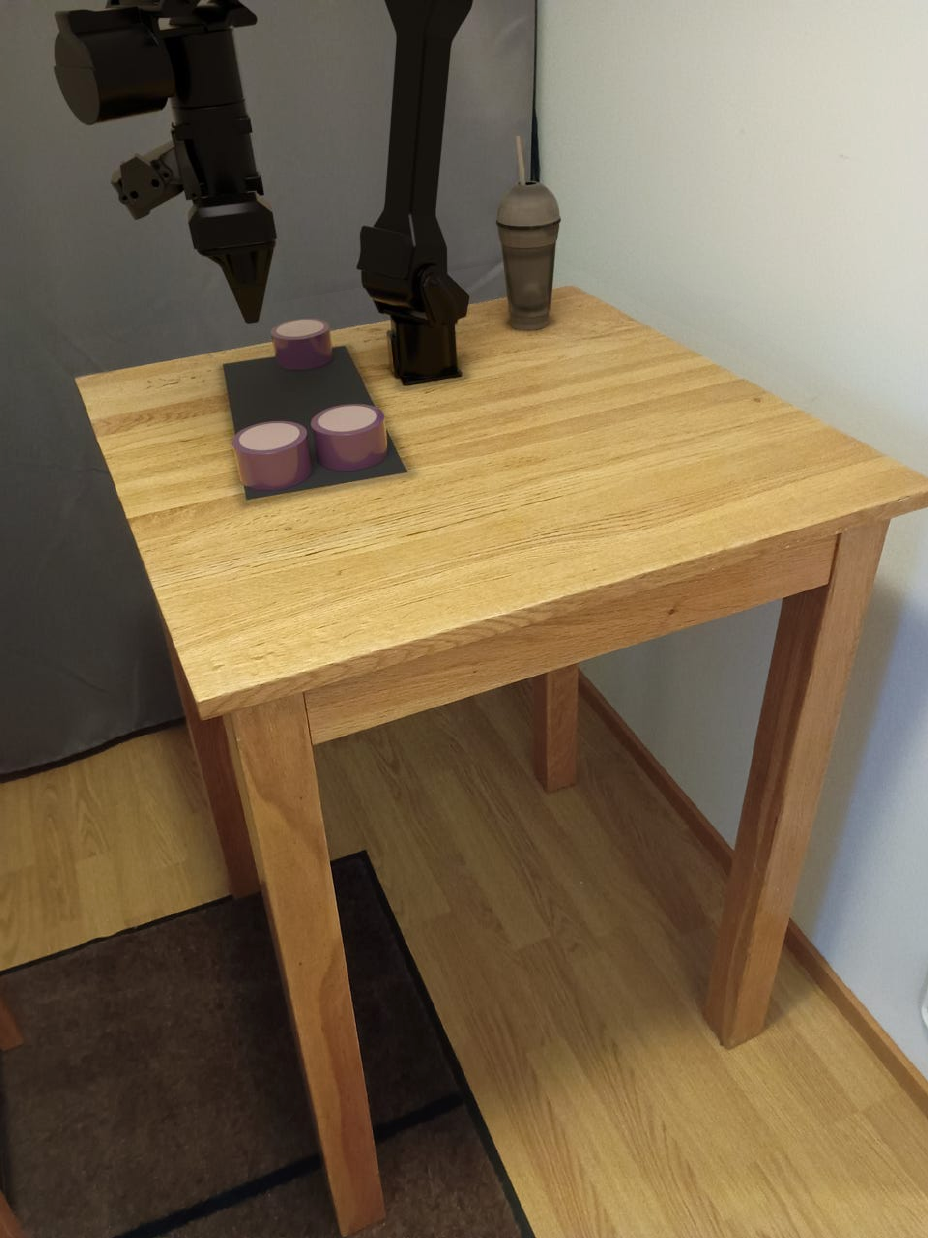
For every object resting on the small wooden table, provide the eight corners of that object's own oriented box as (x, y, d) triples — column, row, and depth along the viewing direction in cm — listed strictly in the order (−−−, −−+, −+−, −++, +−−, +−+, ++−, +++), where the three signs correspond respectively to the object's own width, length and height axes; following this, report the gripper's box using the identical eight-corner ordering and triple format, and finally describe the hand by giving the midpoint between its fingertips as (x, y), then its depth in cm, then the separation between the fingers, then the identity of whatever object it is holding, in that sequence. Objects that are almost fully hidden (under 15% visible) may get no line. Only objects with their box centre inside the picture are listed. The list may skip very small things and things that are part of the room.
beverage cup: (538, 338, 106) (536, 144, 94) (486, 327, 110) (479, 140, 98) (572, 318, 110) (574, 132, 98) (521, 309, 114) (518, 128, 102)
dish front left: (380, 434, 87) (376, 398, 85) (394, 464, 82) (390, 426, 80) (312, 445, 86) (306, 409, 84) (322, 476, 81) (316, 439, 79)
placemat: (345, 347, 107) (345, 345, 107) (407, 474, 81) (407, 471, 81) (223, 366, 104) (222, 363, 104) (246, 503, 78) (246, 499, 78)
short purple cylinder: (329, 345, 107) (324, 314, 105) (338, 365, 102) (333, 333, 100) (273, 353, 106) (267, 322, 104) (279, 374, 101) (273, 342, 98)
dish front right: (308, 451, 85) (302, 415, 83) (318, 483, 80) (311, 445, 78) (237, 463, 84) (228, 426, 82) (242, 496, 79) (234, 458, 77)
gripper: (108, 96, 77) (157, 286, 87) (90, 133, 62) (151, 357, 72) (243, 83, 79) (276, 270, 88) (256, 115, 64) (294, 336, 74)
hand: (249, 305), depth 80 cm, fingers open, 9 cm apart
